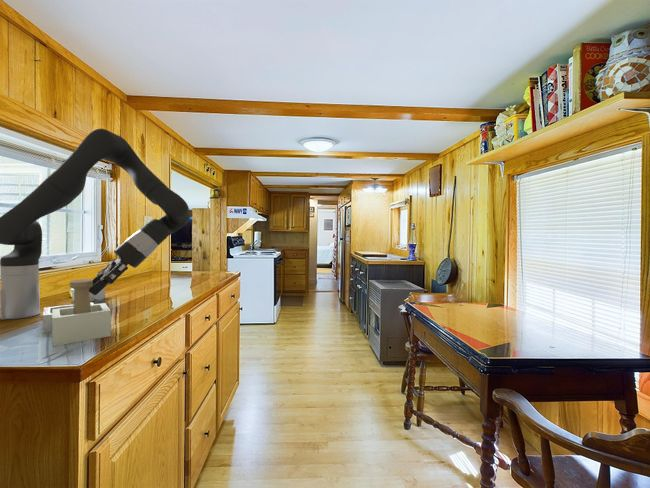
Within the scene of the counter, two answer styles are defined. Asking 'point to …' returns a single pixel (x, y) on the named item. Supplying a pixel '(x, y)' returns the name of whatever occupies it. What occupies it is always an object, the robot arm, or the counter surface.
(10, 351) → the counter surface
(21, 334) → the counter surface
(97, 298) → the tapered grey rod
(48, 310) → the bore block
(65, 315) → the cradle block
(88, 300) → the handle
